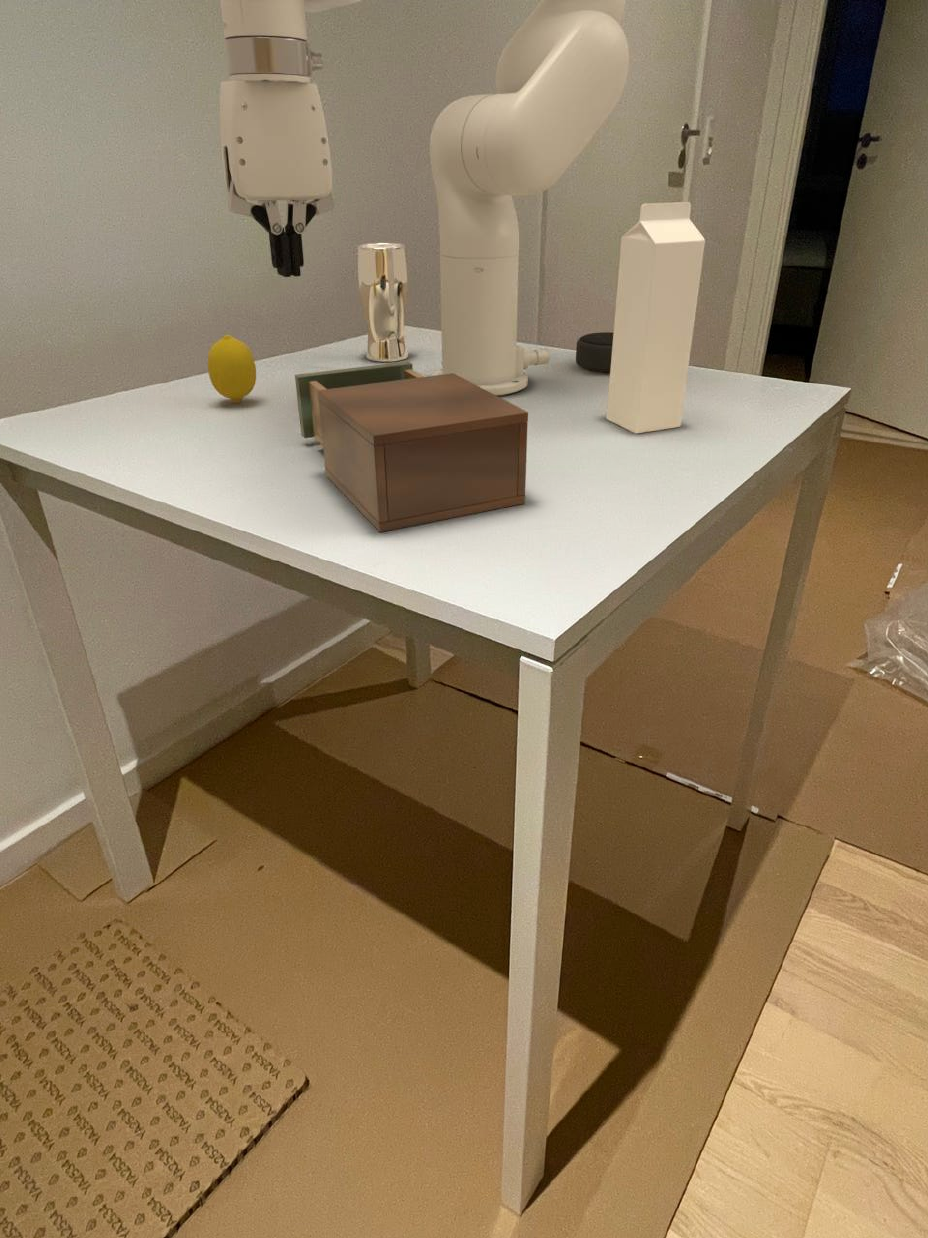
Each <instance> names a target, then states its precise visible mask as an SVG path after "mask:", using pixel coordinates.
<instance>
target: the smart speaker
mask: <svg viewBox="0 0 928 1238" xmlns="http://www.w3.org/2000/svg"><path fill="white" fill-rule="evenodd" d="M613 334H614V332H609V331H607V332H604V331H602V332H593V333H587V334H584V335H582V336H580V337H579V338H578V339H577V341H576V349H575V363H576V365H577V366H578V367H579V368H581V369H583V370H585V371H587V372H590V373H596V374H597V373H598V374H609V375H610V369H611V358H612V346H613Z"/></svg>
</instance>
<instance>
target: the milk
mask: <svg viewBox="0 0 928 1238" xmlns="http://www.w3.org/2000/svg"><path fill="white" fill-rule="evenodd" d="M639 210H640V211H639V218H638V222H636V224H634V226H632V227H631V228H630V229H629V230H628V231H626V233H624V234H623V235H622V237H621V239H620V250H619V251H620V252H619V262H618V263H619V265H618V274H617V276H618V277H617V287H616V300H615V311H614V321H613V333H614V334H613V346H612V358H611V369H610V374H609V382H608V396H607V407H606V420H608V421H610V422H612V423H613V424H616V425H617V426H619V427H621V428H623V429H626V430H627V431H629V432H631V433H633V434H637V435H638V434H642V433H643V434H644V433H650V432H654V431H655V432H656V431H662V430H668V429H675V428H680V427H681V426H682V418H683V411H684V404H685V396H686V388H687V382H688V381H687V379H688V374H689V366H690V357H691V351H692V342H693V336H694V329H695V328H694V327H695V320H696V313H697V306H698V305H697V304H698V297H699V290H700V284H701V283H700V281H701V275H702V266H703V260H704V251H705V244H706V240H705V238H704V236H703V235H702V234H701V232H700V231H699V229H698V228H697V227H696V225H695V224H694V223H693V222H692V220H691V210H692V203H691V202H690V201H679V202H677V201H676V202H656V203H655V202H654V203H643V204H641V206H640V209H639Z"/></svg>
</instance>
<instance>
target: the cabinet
mask: <svg viewBox="0 0 928 1238" xmlns="http://www.w3.org/2000/svg"><path fill="white" fill-rule="evenodd" d="M318 399H319V410H320V420H321V430H322V440H323V446H322V449H323V460H324V467H325V469H324V471H325V476H326V477H327V478H328V479H329V481H331V482H332V483H333V484H334V486H335V487H336V488H337V489H338V490H339V491H340V492H341V493H342V494H343V495H344V496H345V497H346V498H347V499H348V500H349V501H350V503H352V504H353V506H354V507H355V508H356V509H357V510H358V511H359V512H360V513H361V514H362V516H364V517H365V519H367V520H368V521H369V523H370V524H371V525H372V526H373V527H374V528H375V529H376V530H377V531H378V532H379V533H384V532H388V531H393V530H398V529H403V528H409V527H413V526H418V525H419V526H420V525H424V524H429V523H433V522H438V521H444V520H448V519H454V518H458V517H459V518H460V517H463V516H468V515H474V514H479V513H483V512H489V511H493V510H499V509H504V508H509V507H513V506H518V505H522V504H523V505H525V504H526V481H527V480H526V478H527V477H526V476H527V449H528V422H529V411H527V410H525V409H523V408H521V407H519V406H516V405H515V404H513V403H511V402H509V401H507V400H505V399H504V398H502V397H500V396H499V395H497V396H496V395H494V394H492V393H490V392H488V391H486V390H484V389H482V388H481V387H479V386H477V385H475V384H473V383H471V382H469V381H467V380H465V379H463V378H461V377H460V376H458V375H456V374H454V373H451V374H443V375H435V376H431V375H429V376H428V375H427V376H424V377H420V378H412V379H404V380H396V381H388V382H380V383H372V384H364V385H356V386H349V387H341V388H333V389H325V390H318Z"/></svg>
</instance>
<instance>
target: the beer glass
mask: <svg viewBox="0 0 928 1238" xmlns="http://www.w3.org/2000/svg"><path fill="white" fill-rule="evenodd" d="M357 279H358V289H359V296H360V300H361V305H362V309H363V313H364V318H365V323H366V329H367V344H366V359H367V360H368V361H372V362H380V363H394V362H401V361H404V360H406V359H407V358H408V357H409V351H408V346H407V343H406V336H405V335H406V334H405V322H406V315H407V314H406V313H407V305H408V296H409V270H408V259H407V251H406V244H404V243H398V242H370V243H361V244H358V245H357Z"/></svg>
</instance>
